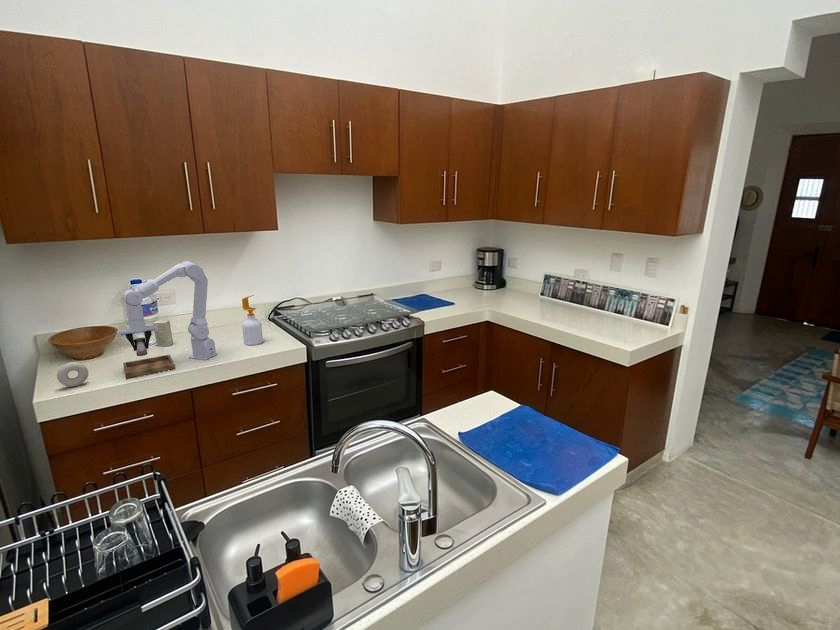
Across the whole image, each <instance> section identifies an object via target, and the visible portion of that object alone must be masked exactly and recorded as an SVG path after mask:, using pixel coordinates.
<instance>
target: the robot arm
mask: <svg viewBox="0 0 840 630" xmlns="http://www.w3.org/2000/svg"><path fill="white" fill-rule="evenodd" d="M177 277H178V278H180V277H181V278H186V277H188V278H189V279H190V280H191V281H192V282H193V283H194V292H193V306H192V308H193V309H192V317H191V318H190V321H189V322H190V323H189V325H187V332H188V334H190V344H191V351H192V354H191V355H190V356H188V359H197V360H204V361H205V360H208V359H210V358H212V357H214V356H216V355H218V353H217V351H216V343H215V340H214V339H213V338H211V337H209V334H210V330H209V328H208V322H207V318H206V314H207V312H206V311H207V300H208V299H207V298H208V297H207V296H208V283H209V281H208V280H209V279H208V278H207V276H206V274H205V272H204V269H203V267H201V265H199V264H198V263H194V262H191V261H189V260H182V261H181V262H180V263H177V264H176V265H174V266H173V267H171V268H170V269H168V270H166V271H165V272H163V273H162V274H161V275H159V276H157V277H155V279H143V280H142V282H141V283H140V284H138V285H137V286H133V287H131V289H127V290H125V291H124V292H123V294H122V297H121V299H122V300H123V301H124V304H125V310H126V312H125V313H126V317H127V321H128V326H129V327H128V328H126V329H120V330H117V331H116V333H117V337H122V336H125V338H126V340H127V341H128V342H129V343H130V345H131V346H132V348H133V351H134V352H136V348H135V343H134V339H135V338H134V335H136V334H140V333H143V334H144V338H145V342H146V348H147V350H148V349H149V347H150V341H151V338H152V334H153V333H152V332H154V331H158V326H157V325H155V326H153V325H147V326H146V321H145V317H144V316H145V315H144V310H143V306H142V302H143V301H144V300H145V299H146V298H148V297H149V296H151V295H153V294H154V293H156V292H158V290H159V288H160V286H162V285H164V284H166V283H167V282H168V283H169V281H171V280H174V279H175V278H177Z"/></svg>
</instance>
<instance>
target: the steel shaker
mask: <svg viewBox="0 0 840 630" xmlns="http://www.w3.org/2000/svg"><path fill="white" fill-rule="evenodd" d="M133 339H134V345H135V348H136V351H135V354H136V357H144V356H148V349H147V348H146V340H145V337H135V338H133Z"/></svg>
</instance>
